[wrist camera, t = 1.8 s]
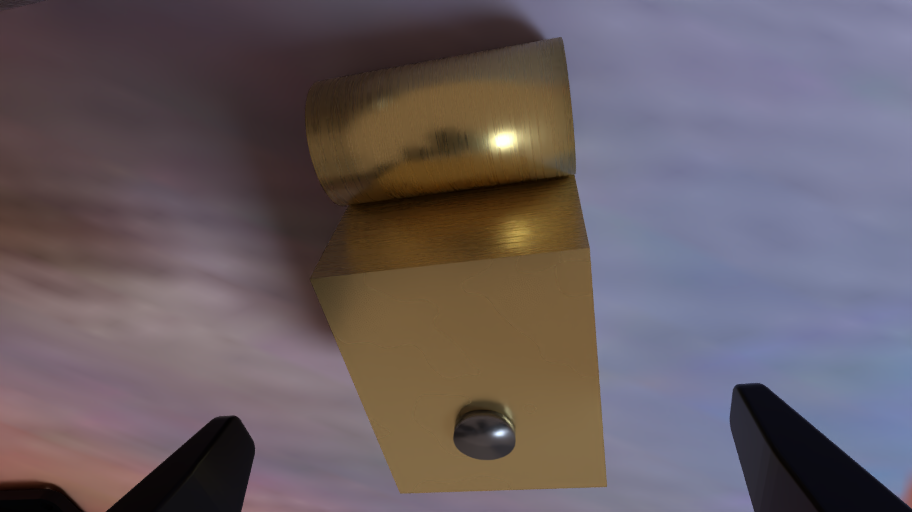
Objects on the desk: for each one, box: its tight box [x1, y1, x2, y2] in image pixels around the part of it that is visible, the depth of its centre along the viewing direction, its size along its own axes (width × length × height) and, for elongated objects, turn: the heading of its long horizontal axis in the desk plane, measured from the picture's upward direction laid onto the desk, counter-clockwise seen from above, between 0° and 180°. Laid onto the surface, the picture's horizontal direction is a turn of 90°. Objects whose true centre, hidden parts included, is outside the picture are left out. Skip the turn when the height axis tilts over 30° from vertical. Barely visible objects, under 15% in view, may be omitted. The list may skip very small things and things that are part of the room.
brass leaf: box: [305, 37, 607, 493], centre depth 11 cm, size 4×8×4 cm, turn 11°
